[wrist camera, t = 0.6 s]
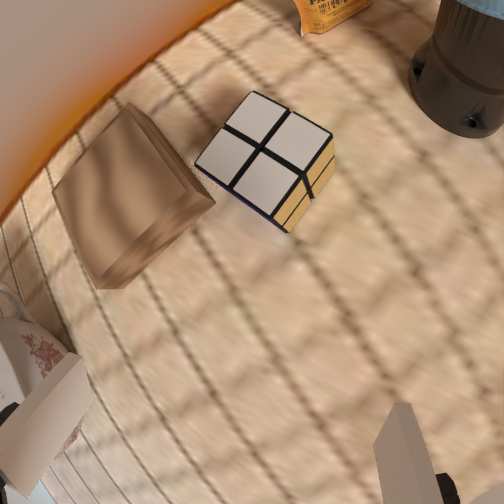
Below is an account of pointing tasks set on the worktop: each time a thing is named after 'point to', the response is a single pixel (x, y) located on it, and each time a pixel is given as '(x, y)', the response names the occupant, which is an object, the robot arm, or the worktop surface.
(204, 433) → the worktop surface
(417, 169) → the worktop surface
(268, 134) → the puzzle cube
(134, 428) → the worktop surface
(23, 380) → the chamber pot
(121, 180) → the block
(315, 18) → the pancake mix bag
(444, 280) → the worktop surface
